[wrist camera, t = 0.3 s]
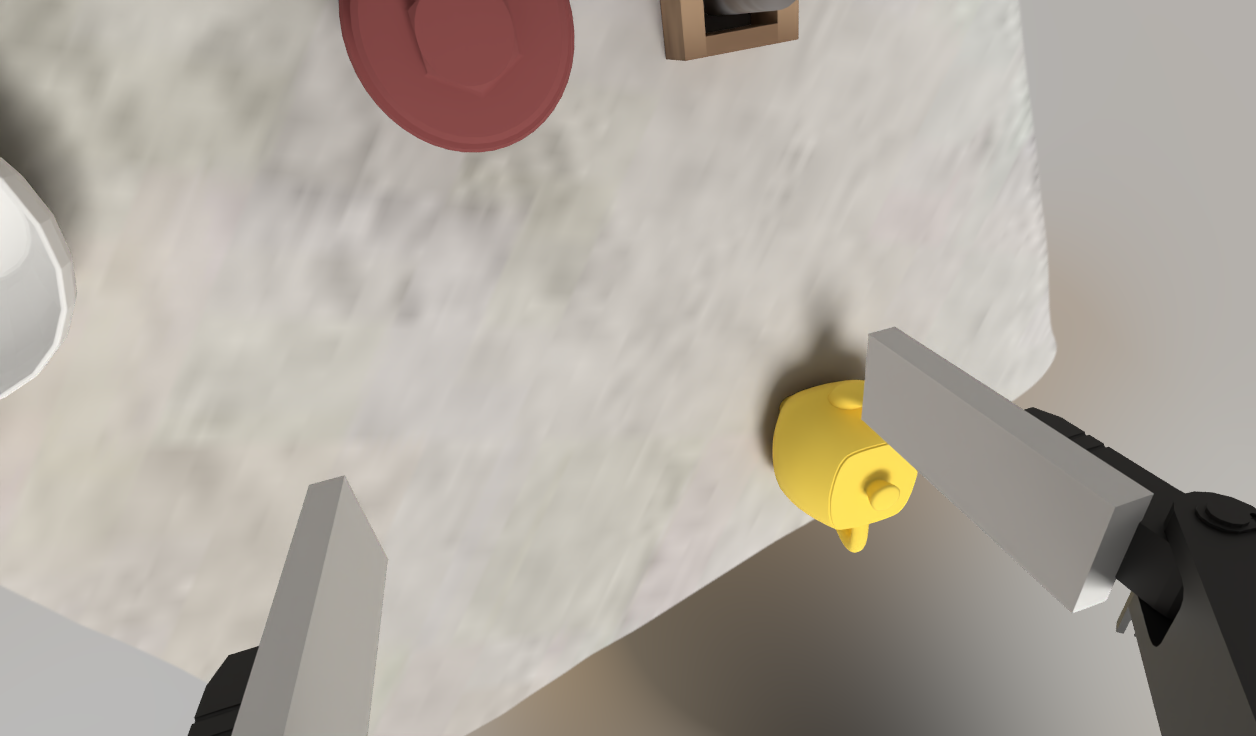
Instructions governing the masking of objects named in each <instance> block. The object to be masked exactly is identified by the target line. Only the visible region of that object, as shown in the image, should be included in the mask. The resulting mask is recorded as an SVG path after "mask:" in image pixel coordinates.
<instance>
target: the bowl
mask: <svg viewBox="0 0 1256 736" xmlns="http://www.w3.org/2000/svg"><path fill="white" fill-rule="evenodd" d="M76 296H77V288H76V280H75V273H74V266H73V258H72V254H71V252H70V249H69V247H68V245H67V243H66V241H65V239H64V237H63V234H62V232H61V230H60V228H59V226H58V224H57V221H56V219H55V217H54V215H53V213H52V212H51V211H50V210H49V208H48V207H47V206H46V205H45V203H44V202H43V201H42V200H41V198H40V197H39V196H38V195H37V193H36V192H35V191H34V190H33V188H32V187H31V186H30V185H29V183H28V182H27V181H26V180H25V178H24V177H23V176H22V175H21V174H20V173H19V172H18V171H17V170H15V169H14V168H13V167H12V166H11V165H9V164H8V163H7V162H6V161H5V160H4V159H2V158H1V157H0V399H2V398H5V397H6V396H8V395H9V394H11V393H12V392H14V391H15V390H17V389H18V388H20V387H21V386H23V385H24V384H26V383H27V382H29V381H30V380H32V379H33V378H35V377H36V376H37V375H38V374H39V373H40V372H41V371H42V370H43V368H44V367H45V366H46V365H47V363H48V362H49V361H50V359H51V358H52V357H53V355H54V354H55V353H56V351H57V350H58V348H59V347H60V346H61V344H62V343H63V342H64V340H65V339H66V338H67V336H68V332H69V327H70V323H71V319H72V315H73V310H74V306H75V302H76Z"/></svg>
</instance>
